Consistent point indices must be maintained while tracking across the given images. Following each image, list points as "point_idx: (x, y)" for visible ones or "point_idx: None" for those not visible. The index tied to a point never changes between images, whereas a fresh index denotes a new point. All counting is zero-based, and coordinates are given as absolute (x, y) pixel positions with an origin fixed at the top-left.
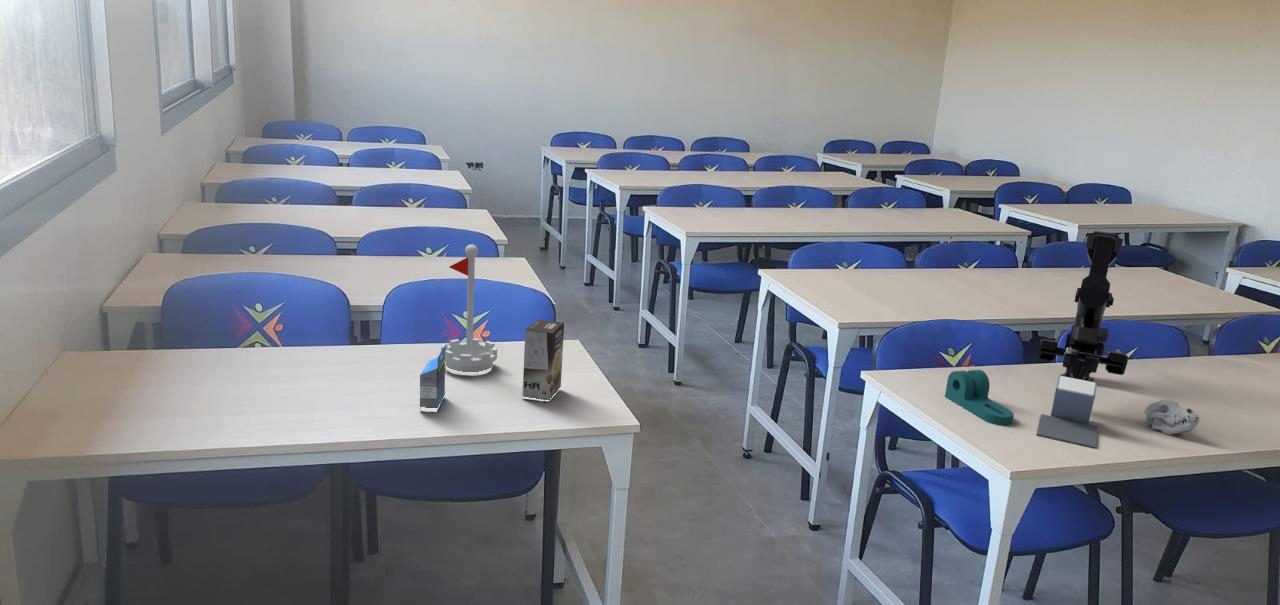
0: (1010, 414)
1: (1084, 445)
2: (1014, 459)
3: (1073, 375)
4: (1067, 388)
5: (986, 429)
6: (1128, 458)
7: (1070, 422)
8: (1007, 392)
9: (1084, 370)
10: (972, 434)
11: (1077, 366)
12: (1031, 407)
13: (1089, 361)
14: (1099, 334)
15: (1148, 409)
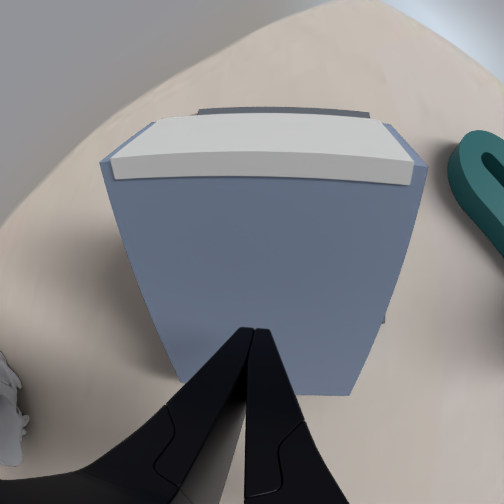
0: (468, 161)
1: (231, 110)
2: (369, 11)
3: (286, 394)
4: (322, 117)
5: (472, 108)
6: (131, 108)
7: None
8: (475, 496)
9: (160, 441)
10: (474, 76)
11: (246, 491)
12: (416, 403)
13: (55, 501)
14: None
15: (3, 438)
